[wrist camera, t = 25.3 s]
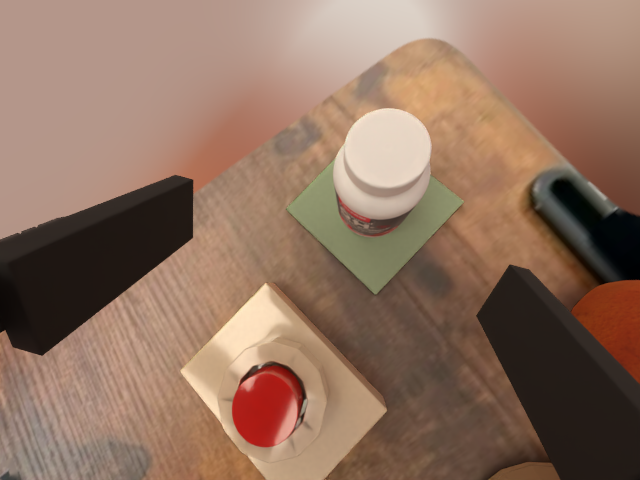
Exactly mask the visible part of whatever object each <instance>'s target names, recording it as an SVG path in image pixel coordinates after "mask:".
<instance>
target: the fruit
mask: <svg viewBox="0 0 640 480" xmlns="http://www.w3.org/2000/svg"><path fill="white" fill-rule="evenodd" d="M571 313H572V315H573V316H574V317H575V318H576V319H577V320H578V321H579V322H580V323H581V324H582V325H583V326H584V327H585V328H586V329H587V330H588V331H589V332H590V333H591V334H592V335H593V336H594V337H595V338H596V339H597V340H598V341H599V342H600V343H601V344H602V346H603V347H604V348H605V349H606V350H607V351H608V352H609V353H610V354H611V355H612V356H613V357H614V358H615V359H616V360H617V361H618V362H619V363H620V364H621V365H622V366H623V367H624V368H625V369H626V370H627V371H628V372H629V373H630V374H631V375H632V377H633V378H634V379H635V380H636V381H637V382H638V383H639V384H640V280H624V281H617V282H611V283H606V284H603V285H600V286H598V287H596V288H594V289H593V290H591V291H590V292H588V293H587V294H586V295H585V296H584V297H583V298H582V299H581V300H580V301H579V302H578V303H577V304H576V305H575V306H574V308H573V309H572V311H571Z"/></svg>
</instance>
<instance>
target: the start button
mask: <svg viewBox="0 0 640 480" xmlns="http://www.w3.org/2000/svg"><path fill="white" fill-rule="evenodd" d="M302 406H303V393H302V389H301V386H300V384H299V382H298V380H297V378H296V377H295V376H294V375H293V374H292V373H291V372H290V371H288V370H287V369H285V368H283V367H280V366H274V365H271V366H265V367H262V368H260V369H258V370H256V371H255V372H254V373H253V374H252V375H250V376H249V377H248V378H247V379H246V380H245V381H244V382H243V383H242V384H241V385H240V386H239V388H238V389H237V391H236V393H235V395H234V398H233V402H232V418H233V422H234V425H235V427H236V429H237V431H238V432H239V434H240V435H241V436H242V437H243V439H245V440H246V441H247V442H249V443H250V444H252V445H255V446H258V447H273V446H276V445H278V444H280V443H282V442H283V441H285V440H286V439H287V438H288V437H289V436H290V434H291V433H292V431H293V430H294V428H295V425H296V423H297V420H298V418H299V415H300V413H301V410H302Z"/></svg>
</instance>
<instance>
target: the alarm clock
mask: <svg viewBox="0 0 640 480" xmlns="http://www.w3.org/2000/svg"><path fill="white" fill-rule="evenodd" d="M488 480H560V478H559V476H558V474H557V472H556V470H555V468H554V466H553V464H552V463H540V462H526V463H522V464H519V465H515V466H512V467H509V468H505V469H502V470H500V471H499V472H498V473H496V474H495V475H494V476H492V477H491V478H490V479H488Z"/></svg>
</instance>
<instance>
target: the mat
mask: <svg viewBox="0 0 640 480" xmlns="http://www.w3.org/2000/svg"><path fill="white" fill-rule="evenodd" d="M335 159H336V158H335ZM335 159H334V160H333V161H332V162H331V163H330V164H329V165H328V166H327V167H326V168H325V169H324V170H323V171H322V172H321V173H320V174H319V175H318V176H317V178H316V179H315V180H314V181H313V182H312V183H311V184H310V185H309V186H308V187H307V188H306V189H305V190H304V191H303V192H302V193H301V194H300V195H299V196H298V197H297V198H296V199H295V200H294V201H293V202H292V203H291V204H290V205H289V206H288V207H287V208H286V210H287V211H288V212H289V213H290V214H291V215H292V216H293V217H294V218H295V219H296V220H297V221H298V222H299V223H300V224H301V225H303V226H304V227H305V228H306V229H307V230H308V231H309V232H310V233H311V234H312V235H313V236H314V237H315V238H316V239H317V240H318V241H319V242H320V243H321V244H322V245H323V246H324V247H326V248H327V249H328V250H329V251H330V252H331V253H332V254H333V255H334V256H335V257H336V258H337V259H338V260H339V261H340V262H341V263H342V264H343V265H344V266H345V267H346V268H347V269H348V270H350V271H351V272H352V273H353V274H354V275H355V276H356V277H357V278H358V279H359V280H360V281H361V282H362V283H363V284H364V285H365V286H366V287H367V288H368V289H369V290H370V291H371V292H373V293H374V294H375V295H376V294H377V293H378V292H379V291H380V290H381V289H382V288H383V287H384V286H385V285H386V284H387V283H388V282H389V281H390V280H391V279H392V277H393V276H394V275H395V274H396V273H397V272H398V271H399V270H400V269H401V268H402V267H403V266H404V265H405V264H406V263H407V262H408V261H409V260H410V258H411V257H412V256H413V255H414V254H415V253H416V252H417V251H418V250H419V249H420V248H421V247H422V246H423V245H424V244H425V243H426V242H427V241H428V240H429V238H430V237H431V236H432V235H433V234H434V233H435V232H436V231H437V230H438V229H439V228H440V227H441V226H442V225H443V224H444V223H445V222H446V221H447V220H448V218H449V217H450V216H451V215H452V214H453V213H454V212H455V211H456V210H457V209H458V208H459V207H460V206H461V205H462V204H463V203H464V201H463V200H462V199H460V198H459V197H458V196H457V195H455V194H454V193H453V192H452V191H450V190H449V189H448V188H447V187H445V186H444V185H443V184H442V183H440V182H439V181H438V180H437V179H436V178H434V177H433V176H432V175H431V174H430V180H429V184H428V187H427V189H426V191H425V194H424V195H423V197H422V199H421V200H420V201H419V203H418V204H417V205H416V206H415V207H414V208H413V210H412V211H411V212H410V213H409V214H408V216H407V217H406V218H405V220H404V221H403V222H402V223H401V224H400V225H399V226H398V227H397V228H396V229H395V230H393V231H392V232H391V233H389V234H387V235H384V236H381V237H374V238H370V237H364V236H360V235H358V234H356V233H354V232H352V231H351V230H350V229H349V228H348V227H347V226H346V225H345V224H344V223H343V221H342V219H341V217H340V215H339V211H338V207H337V200H336V193H335V187H334V183H333V168H334V163H335Z"/></svg>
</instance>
